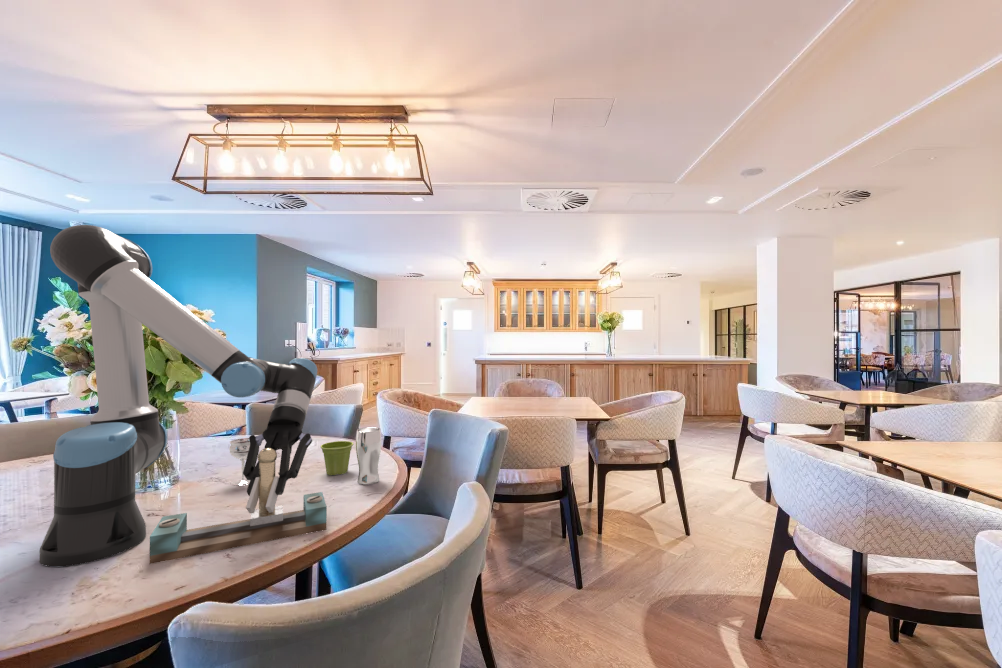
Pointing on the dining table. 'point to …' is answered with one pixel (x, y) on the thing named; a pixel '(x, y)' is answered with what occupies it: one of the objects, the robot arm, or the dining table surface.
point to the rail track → (232, 532)
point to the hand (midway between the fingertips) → (259, 509)
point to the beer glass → (368, 454)
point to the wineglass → (240, 454)
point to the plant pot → (337, 456)
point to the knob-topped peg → (266, 489)
